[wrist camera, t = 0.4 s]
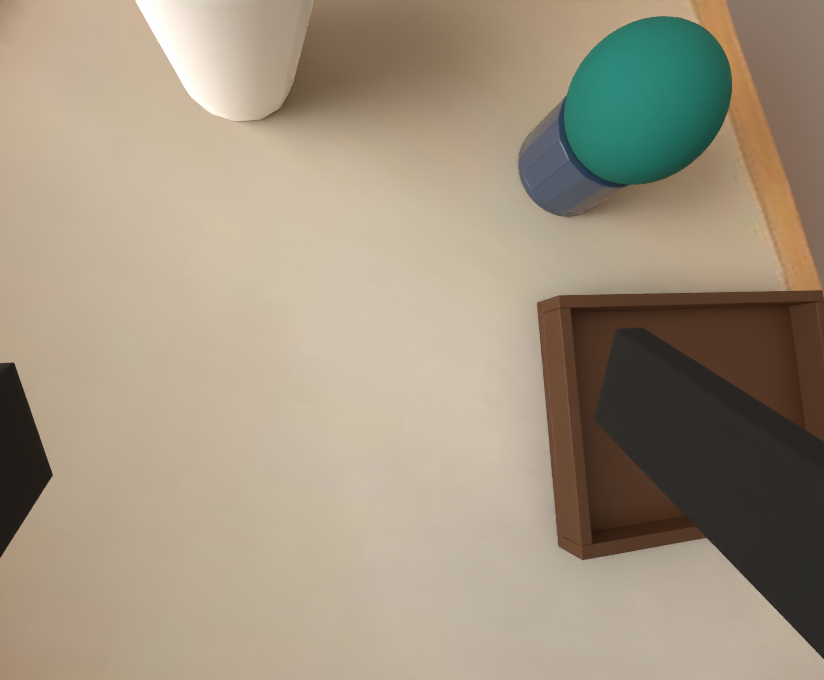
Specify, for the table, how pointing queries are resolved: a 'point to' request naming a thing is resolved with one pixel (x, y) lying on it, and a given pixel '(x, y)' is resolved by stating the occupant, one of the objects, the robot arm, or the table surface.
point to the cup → (560, 170)
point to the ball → (648, 100)
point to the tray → (700, 340)
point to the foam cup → (232, 50)
